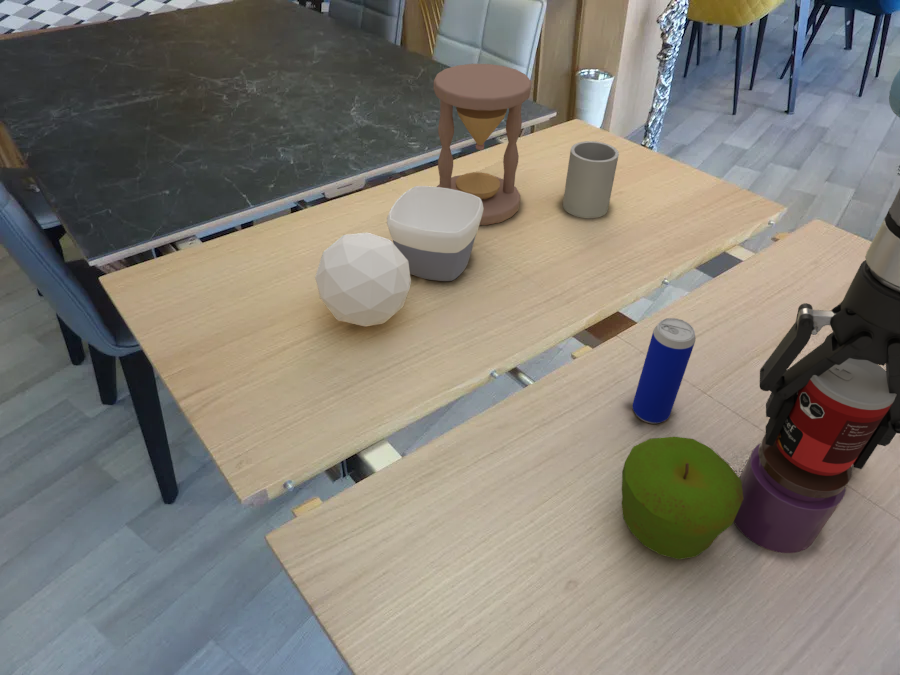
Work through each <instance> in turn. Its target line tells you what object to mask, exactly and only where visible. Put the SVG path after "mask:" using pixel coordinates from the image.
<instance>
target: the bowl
mask: <svg viewBox="0 0 900 675" xmlns="http://www.w3.org/2000/svg"><path fill="white" fill-rule="evenodd" d="M483 209H484V208H483V203H482V200H481V199H480V198H479V197H477V196H475V195H472V194H469V193H466V192H462V191H458V190H453V189H448V188H441V187H437V186H432V185H431V186H429V185H415V186H413V187H411V188H409V189H407V190H406V191H405V192H404V193H402V194H401V195H400V196H399V197H398V198H397V199H396V200H395V202H393V204H392V206H391V208H390V209H389V211H388V214H387V217H386V226H387V228H388V231H389V234H390V235H389V236H390V238H391V241H392V243H393V244H394V245H395V246H396V247H397V248H398V250H399V251H400V252H401V253H402V254H403V255H404V256H405V258H406V259H407V260H408V263H409V271H410V275H412V276H415V277H417V278H421V279H424V280H428V281H429V280H430V281H439V282H451V281H455V280H456V279H458V278H459V276H461V275H462V273H463V272H464V271H465V270H466V268H467V267H468V264H469V261H470V258H471V255H472V251H473V247H474V245H475V244H474V243H475V241H476V237H477V234H478V230H479V228H480V225H479V224H480V221H481V217H482V214H483Z"/></svg>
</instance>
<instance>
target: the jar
mask: <svg viewBox="0 0 900 675" xmlns="http://www.w3.org/2000/svg"><path fill="white" fill-rule="evenodd" d="M765 441H766V433H765V434H764V435H763V438H762V439H761V442H759V443H758V444H757V445H755V447H753V449H752V451H751V453H750V454H749V457H748V459H747V461H746V462H745V465H744V467H743V469H742V472H741V473H740V476H738V477H739V478H740V480H741V482H742V491H743V501H742V503H741V506H740V508H739V510H738V513H737V515H736V517H735V520H734V522H733V524H734V525H735V526H736V528H737V529H738V530H739V531H740V532H741V533H742V534H743V535H744V536H745V537H746V538H747V539H748V540H750V541H752V542H753V543H754V544H756V545H758V546H759V547H761V548H764V549H766V550H769V551H772V552H776V553H780V554H795V553H801V552H803V551H805V550H807V549H808V548H810V547H811V546H812V545H813V544H814V542H815V541H816V540H817V538H818V536H819V535H820V534H821V532H822V530H823V529H824V528H825V526H826V525H827V523H828V521H829V520H830V518H831V517H832V515H833V514H834V513H835V511H836V509H837V508H838V506H839V505H840V504H841V502H842V500H843V499H844V497H845V495H846V489H847V485H848V484H849V482H850V481H851V478H852V475H853V468H852V467H853V466H852V467H850V468H849V469H847V470H846V471H844V472H842V473H840V474H838V475H833V476H824V475H817V474H813V473H810V472H808V471H805V470H803V469H801V468H799V467H797V466H796V465H794V464H793V463H791V462H790V461H789V460H788V459H787V458H785V457H784V455H783V454H782V453H781V452H780V450H779V449H778V447H777V444H776V441H775V443H774V445H773V446H770V445H767V444H765Z"/></svg>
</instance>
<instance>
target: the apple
mask: <svg viewBox="0 0 900 675" xmlns="http://www.w3.org/2000/svg"><path fill="white" fill-rule="evenodd" d="M621 474H622V475H621V511H622V518H623V520H624V523H625V524H626V525H627V527H628V530H629V531H630V532H631V534H632V535H633V536H634V537H635V538H636V539H637V540H638V541H639V543H641V545H642V546H644V547H646V548H648V549H649V550H651V551H652V552H655V554H656V553H657V554H658V555H660V556H664V557H668V558H671V559H676V560H683V559H691V558H696V557H698V556H699V555H701V554H702V553H703V552H705V551H706V550H707V549H709V548H710V547H711V545H712V544H713V543H714V542H715V540H716V539H717V538H718V537H719V536H720V535H721V534H722V533H723V532H725V531H726V530H728V529H729V528H730V527H731V526H733V524H734V520H735V517H736V515H737V513H738V510H739V508H740V506H741V503H742V501H743V491H742V482H741V480H740V478H739V477H740V476H739V475H738V474H737V473H736V472H735V471H734V469H733V468H732V466H731V465H730V464H729V463H728V462H727V461H725V459H724V458H722V457H721V456H720V455H719V454H718V453H717V452H716V451H715V450H714V449H713V448H711V447H710V446H707V445H705V444H704V443H702V442H701V441H698V440H696V439H694V438H688V437H681V436H665V437H655V438H649V439H647V440H643V441H642V442H640V443H638V444H636V445H634V446H633V447H632V448H631V450H630V451H629V454H628V455H627V457H626V459H625V461H624V463H623V467H622V472H621Z"/></svg>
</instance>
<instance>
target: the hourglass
mask: <svg viewBox="0 0 900 675" xmlns="http://www.w3.org/2000/svg"><path fill="white" fill-rule="evenodd" d="M531 90H532V81H531V79H530V78H529V76H528V75H527V74H526V73H524V72H522V71H520V70H518V69H516V68H512V67H509V66H505V65H501V64H491V63H467V64H466V63H465V64H458V65H454V66H451V67H447V68H445V69H443V70H441V71H440V72H438V73H436V76H435V77H434V79H433V91H434V94H435V96H436V98H438V99H439V101H440V102H439V121H438V124H437V125H438V127H437V128H438V129H437V133H438V138H439V141H440V145H441V148H440V149H441V150H440V153H439V156H438V159H437V169H438V176H439V184H438V185H437V186H436V187H441V188H448V189H453V190H458V191H462V192H466V193H469V194H472V195H475V196H477V197H479V198H480V199H481V200H482V203H483V208H484V209H483V214H482V217H481V221H480V224H479V226H488V225H494V224H500V223H502V222H504V221H507V220H508V219H511V218H512V217H514V215H515V214H516V213H517V212H518V211H519V210H520V202H521V193H520V192H519V190H518V188H517V187H516V186H515V182H516V172H517V168H518V164H519V157H520V156H519V151H518V145H517V142H518V139H519V137H520V134H521V131H522V125H523V121H522V120H523V119H522V107H523V106H522V105H523V103H525V102H526V101H527V100H529V98H530V95H531ZM454 107H455V109H456V112H457V115H458V117H459V119H460V120H461V122H462V124H463V126H464V127H465V129H466V130H467V131H468V133H469V135H470V137H472V139H473V140H474V142H475V149H476V150H478V151H483V150H484V149H485V142H487V140H488V139H489V137H490V136H491V135H492V134H493V133H494V132H495V130H496V129H497V128H498V126H499V125H500V124H501V123H502V121H503V120H504V119H505V116H506V114H507V117H506V122H505V132H506V137H507V138H506V139H507V145H506V148H505V151H504V154H503V158H502V159H503V160H502V164H503V178H502V177H498V176H495V175H493V174H490V173H488V172H487V173H486V172H481V171H480V172H479V171H478V172H477V171H475V172H467V173H464V174H459V175H454V176H452V175H453V171H454V169H453V168H454V158H453V153H452V151H451V145H452V142H453V139H454V134H455V122H454V116H453V114H454V111H453V109H454ZM507 111H508V112H507Z"/></svg>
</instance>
